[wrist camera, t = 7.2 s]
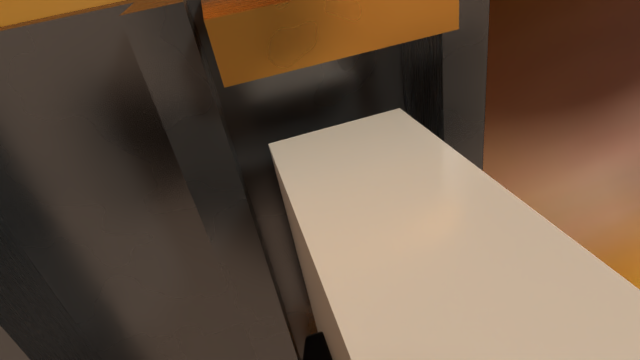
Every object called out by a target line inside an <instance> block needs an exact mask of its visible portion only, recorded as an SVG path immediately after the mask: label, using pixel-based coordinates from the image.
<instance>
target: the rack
mask: <svg viewBox="0 0 640 360" xmlns="http://www.w3.org/2000/svg"><path fill="white" fill-rule="evenodd" d="M489 5H490V0H126V1H121V2H116V3H112V4H107V5H102V6H98V7H93V8H88V9H84V10H79V11H74V12H69V13H65V14H60V15H55V16H51V17H46V18H41V19H37V20H32V21H27V22H22V23H18V24H13V25H8V26H4V27H0V360H303V351H304V343H305V338H306V337H307V336H308V335H311V334H314V333H317V332H318V331H317V327H316V323H315V319H314V316H313V312H312V308H311V304H310V300H309V297H308V293H307V289H306V285H305V282H304V278H303V274H302V270H301V266H300V263H299V259H298V255H297V251H296V247H295V244H294V240H293V236H292V232H291V228H290V225H289V221H288V217H287V213H286V210H285V206H284V202H283V198H282V194H281V191H280V187H279V183H278V179H277V175H276V172H275V168H274V164H273V160H272V156H271V153H270V149H269V145H268V144H269V143H273V142H277V141H280V140H284V139H288V138H291V137H295V136H299V135H302V134H306V133H310V132H313V131H317V130H321V129H324V128H328V127H332V126H336V125H339V124H343V123H347V122H350V121H354V120H358V119H361V118H365V117H369V116H372V115H376V114H380V113H383V112H387V111H391V110H394V109H398V108H400V109H402V110H403V111H404V112H406V113H407V114H408V115H410V116H411V117H412V118H413V119H415V120H416V121H417V122H419V123H420V124H421V125H423V126H424V127H425V128H427V129H428V130H429V131H431V132H432V133H433V134H435V135H436V136H437V137H439V138H440V139H441V140H443V141H444V142H445V143H446V144H448V145H449V146H450V147H452V148H453V149H454V150H456V151H457V152H458V153H460V154H461V155H462V156H464V157H465V158H466V159H468V160H469V161H470V162H472V163H473V164H474V165H476V166H477V167H478V168H479V169H481V170H482V171H483V148H484V124H485V100H486V76H487V53H488V29H489Z"/></svg>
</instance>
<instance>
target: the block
mask: <svg viewBox="0 0 640 360" xmlns="http://www.w3.org/2000/svg"><path fill="white" fill-rule="evenodd" d="M268 145H269V149H270V153H271V156H272V160H273V164H274V168H275V172H276V175H277V179H278V183H279V187H280V191H281V194H282V198H283V202H284V206H285V210H286V213H287V217H288V221H289V225H290V228H291V232H292V236H293V240H294V244H295V247H296V251H297V255H298V259H299V263H300V266H301V270H302V274H303V278H304V282H305V285H306V289H307V293H308V297H309V300H310V304H311V308H312V312H313V316H314V319H315V323H316V327H317V331H318V332H323V334H324V337H325V340H326V343H327V345H328V348H329V351H330V354H331V357H332V360H640V290H639V289H638V288H637V287H635V286H634V285H633V284H631V283H630V282H629V281H627V280H626V279H625V278H623V277H622V276H621V275H619V274H618V273H617V272H615V271H614V270H613V269H611V268H610V267H609V266H608V265H606V264H605V263H604V262H602V261H601V260H600V259H598V258H597V257H596V256H594V255H593V254H592V253H590V252H589V251H588V250H586V249H585V248H584V247H582V246H581V245H580V244H578V243H577V242H576V241H575V240H573V239H572V238H571V237H569V236H568V235H567V234H565V233H564V232H563V231H561V230H560V229H559V228H557V227H556V226H555V225H553V224H552V223H551V222H549V221H548V220H547V219H545V218H544V217H543V216H542V215H540V214H539V213H538V212H536V211H535V210H534V209H532V208H531V207H530V206H528V205H527V204H526V203H524V202H523V201H522V200H520V199H519V198H518V197H516V196H515V195H514V194H512V193H511V192H510V191H509V190H507V189H506V188H505V187H503V186H502V185H501V184H499V183H498V182H497V181H495V180H494V179H493V178H491V177H490V176H489V175H487V174H486V173H485V172H483V171H482V170H481V169H479V168H478V167H477V166H476V165H474V164H473V163H472V162H470V161H469V160H468V159H466V158H465V157H464V156H462V155H461V154H460V153H458V152H457V151H456V150H454V149H453V148H452V147H450V146H449V145H448V144H446V143H445V142H444V141H443V140H441V139H440V138H439V137H437V136H436V135H435V134H433V133H432V132H431V131H429V130H428V129H427V128H425V127H424V126H423V125H421V124H420V123H419V122H417V121H416V120H415V119H413V118H412V117H411V116H410V115H408V114H407V113H406V112H404V111H403V110H402V109H400V108H398V109H394V110H391V111H387V112H383V113H380V114H376V115H372V116H369V117H365V118H361V119H358V120H354V121H350V122H347V123H343V124H339V125H336V126H332V127H328V128H324V129H321V130H317V131H313V132H310V133H306V134H302V135H299V136H295V137H291V138H288V139H284V140H280V141H277V142H273V143H269V144H268Z"/></svg>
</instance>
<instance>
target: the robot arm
mask: <svg viewBox="0 0 640 360" xmlns="http://www.w3.org/2000/svg"><path fill="white" fill-rule="evenodd" d="M303 360H332V357H331V354H330V351H329V348H328V345H327V343H326V340H325V337H324V334H323V332H317V333H314V334H311V335H308V336H307V337H306V338H305V343H304V351H303Z"/></svg>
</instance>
